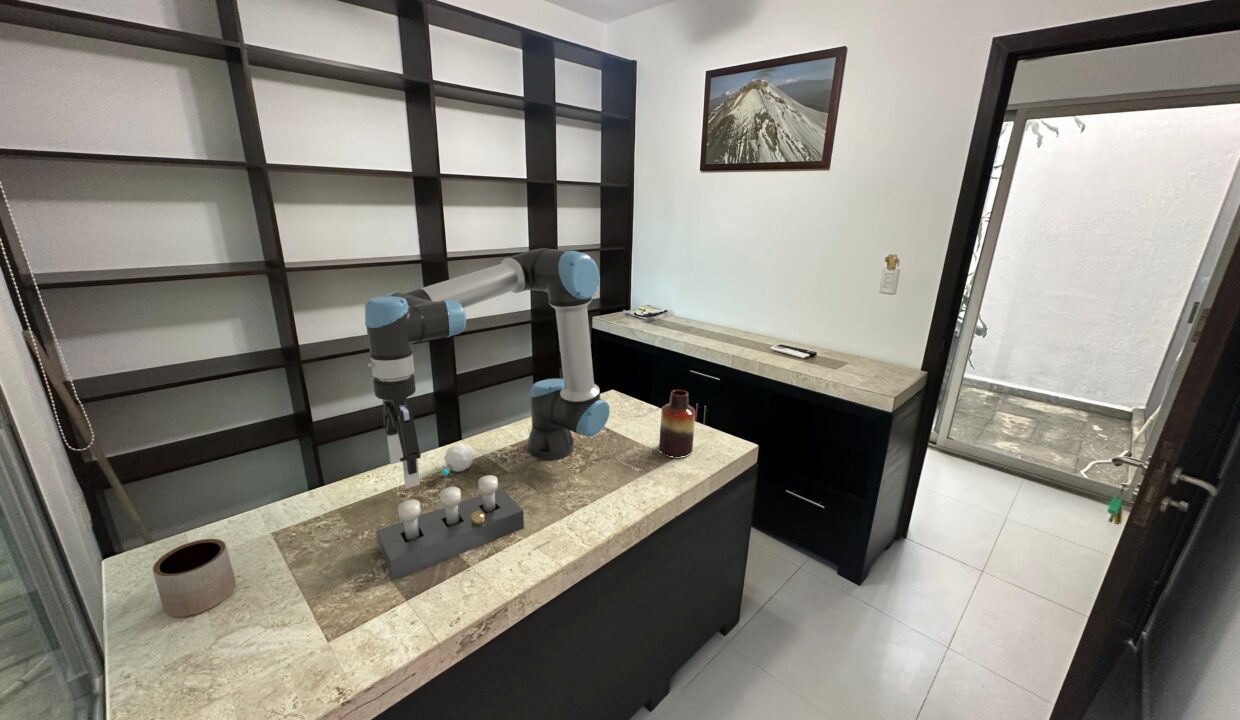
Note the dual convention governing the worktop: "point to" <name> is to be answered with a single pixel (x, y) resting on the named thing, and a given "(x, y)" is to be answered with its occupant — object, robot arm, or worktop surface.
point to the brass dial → (477, 518)
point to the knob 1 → (410, 518)
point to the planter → (194, 577)
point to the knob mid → (451, 504)
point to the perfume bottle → (457, 459)
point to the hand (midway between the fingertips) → (404, 473)
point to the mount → (447, 534)
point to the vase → (677, 425)
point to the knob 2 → (488, 491)
